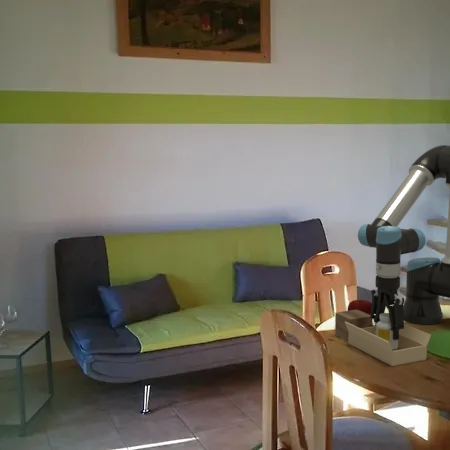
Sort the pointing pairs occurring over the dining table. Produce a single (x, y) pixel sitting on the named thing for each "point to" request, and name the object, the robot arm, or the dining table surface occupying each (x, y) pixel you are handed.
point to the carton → (381, 349)
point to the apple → (360, 306)
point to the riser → (351, 322)
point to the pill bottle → (384, 327)
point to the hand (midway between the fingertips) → (386, 345)
